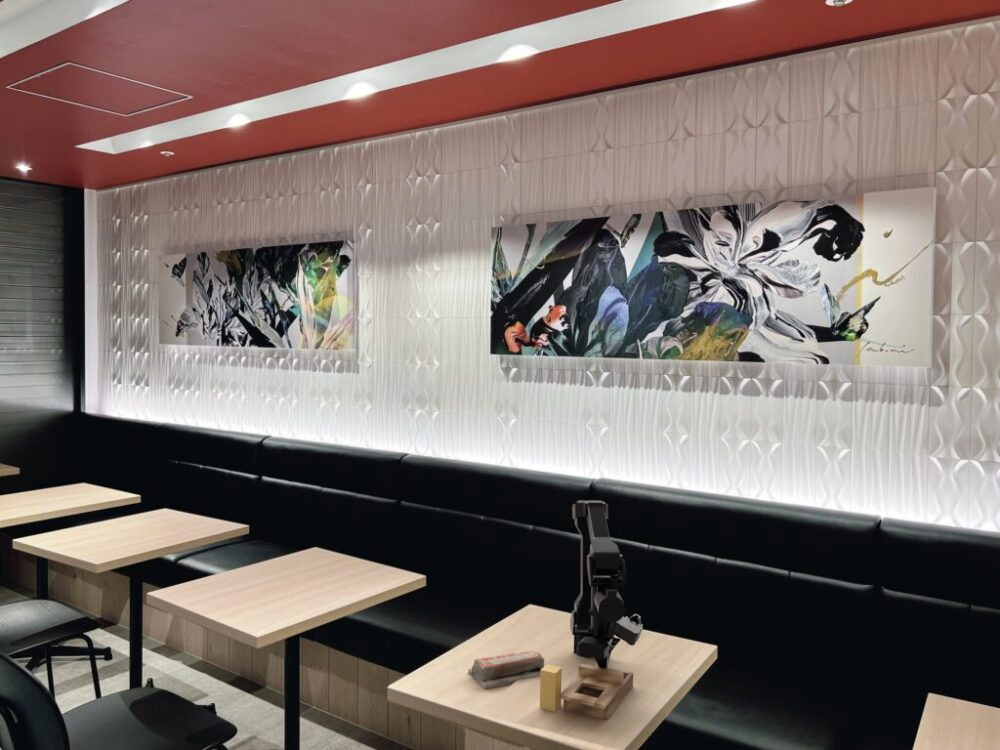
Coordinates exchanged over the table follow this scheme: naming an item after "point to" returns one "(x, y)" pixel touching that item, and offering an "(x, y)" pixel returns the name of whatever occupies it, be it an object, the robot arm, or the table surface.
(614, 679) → the lid
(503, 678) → the packaged product
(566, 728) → the table surface
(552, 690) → the yellow rectangular block
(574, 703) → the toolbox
